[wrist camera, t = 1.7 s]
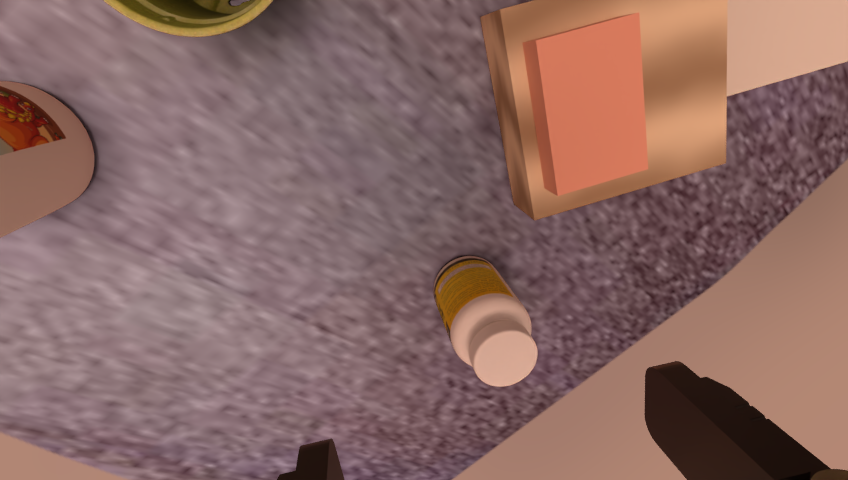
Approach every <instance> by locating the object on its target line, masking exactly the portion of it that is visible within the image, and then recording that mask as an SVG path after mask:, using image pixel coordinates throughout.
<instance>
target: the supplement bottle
mask: <svg viewBox="0 0 848 480" xmlns="http://www.w3.org/2000/svg"><path fill="white" fill-rule="evenodd" d="M433 292H434V298H435V302H436V305H437V307H438V310H439V312H440V315H441V317H442V320H443V323H444V325H445V328H446V330H447V333H448V335H449V338H450V341H451V343H452V346H453V348H454V350H455V352H456V353H457V355H458V356H459V357H460V358H461V359H462V360H463V361H464V362H465V363H467V364H469V365H471V366H473V368H474V371H475V373H476V375H477V376H478V377H479V378H480V379H481V380H482V381H483V382H485V383H486V384H489V385H492V386H500V387H501V386H509V385H512V384H515V383H517V382H519V381H520V380H522V379H523V378H525V377H526V376H527V375H528V374H529V373H530V372H531V370H532V369H533V367H534V365H535V363H536V360H537V347H536V344H535V342H534V340H533V338H532V337H531V321H530V317H529V315H528V313H527V311H526V309H525V308H524V306H523V305H522V303H521V302H520V301H519V300H518V298H517V297H516V296H515V294H514V293H513V292H512V290H511V289H510V287H509V286H508V285H507V283H506V282H505V281H504V279H503V278H502V277H501V275H500V274H499V272H498V271H497V270H496V269H495V267H494V266H493V265H492V264H491V263H490V262H488V261H487V260H485V259H483V258H480V257H475V256H464V257H460V258H457V259H455V260H453V261H451V262H449V263H448V264H446V265H445V266H444V267H443V268H442V270H441V271H440V272H439V274H438V275H437V277H436V280H435V283H434V288H433Z"/></svg>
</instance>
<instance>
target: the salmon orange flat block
mask: <svg viewBox="0 0 848 480" xmlns="http://www.w3.org/2000/svg"><path fill="white" fill-rule="evenodd" d="M523 50H524V56H525V63H526V70H527V76H528V83H529V90H530V96H531V103H532V109H533V116H534V123H535V129H536V136H537V143H538V149H539V156H540V162H541V169H542V176H543V182H544V188H545V189H546V190H548V191H550V192H552V193H553V194H555V195H557V196H560V195H563V194H567V193H570V192H573V191H577V190H580V189H583V188H587V187H590V186H593V185H597V184H600V183H604V182H607V181H610V180H614V179H617V178H620V177H624V176H627V175H630V174H634V173H637V172H641V171H644V170H647V169H648V156H647V139H646V121H645V104H644V87H643V70H642V52H641V35H640V18H639V13H633V14H628V15H623V16H618V17H615V18H611V19H607V20H604V21H600V22H596V23H593V24H589V25H585V26H582V27H578V28H574V29H571V30H567V31H563V32H560V33H556V34H552V35H549V36H545V37H541V38H538V39H534V40H530V41H527V42H523Z"/></svg>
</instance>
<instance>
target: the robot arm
mask: <svg viewBox="0 0 848 480" xmlns="http://www.w3.org/2000/svg"><path fill="white" fill-rule="evenodd" d="M645 421H646V425H647V428H648V430H649V432H650V434H651V436H652V438H653V439H654V441H655V442H656V443H657V445H658V446H659V447H660V448H661V449H662V451H663V452H664V453H665V454H666V455H667V456H668V458H669V459H670V460H671V461H672V462H673V463H674V465H675V466H676V467H677V468H678V469H679V471H680V472H681V473H682V474H683V475H684V477H685V478H686V479H687V480H848V471H846V470H840V469H830V468H829V467H828V466H827V465H825V464H824V463H823V462H822V461H820V460H819V459H818V458H817V457H815V456H814V455H813V454H812V453H810V452H809V451H808V450H806V449H805V448H804V447H803V446H802V445H800V444H799V443H798V442H797V441H795V440H794V439H793V438H792V437H790V436H789V435H788V434H787V433H785V432H784V431H783V430H782V429H780V428H779V427H778V426H777V425H776V424H774V423H773V422H772V421H771V420H769V419H766V418H765V416H764V415H763V414H762V413H760V412H759V411H758V410H757V409H756V408H754V407H753V406H750V405H749V403H748V402H747V401H746V400H744V399H743V398H742V397H741V396H739V395H738V394H737V393H736V392H734V391H733V390H732V389H731V388H729V387H727V386H725V385H723V384H720V383H718V382H716V381H714V380H712V379H710V378H708V377H703V378H700V377H699V376H697V375H696V374H695V373H694V372H693V371H691V370H690V369H689V368H688V367H687V366H685V365H684V364H683V363H681V362H678V361H675V362H671V363H667V364H662V365H658V366H653V367H649V368H648V369H647V371H646V375H645ZM277 480H344V477H343V473H342V469H341V466H340V462H339V459H338V455H337V451H336V448H335V444H334V442H333V440H332V439H328V440H323V441H319V442H315V443H310V444H306V445H302V446H300V449H299V454H298V460H297V467H296V471H293V472H289V473H285V474H280V475H279V477H278V479H277Z"/></svg>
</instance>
